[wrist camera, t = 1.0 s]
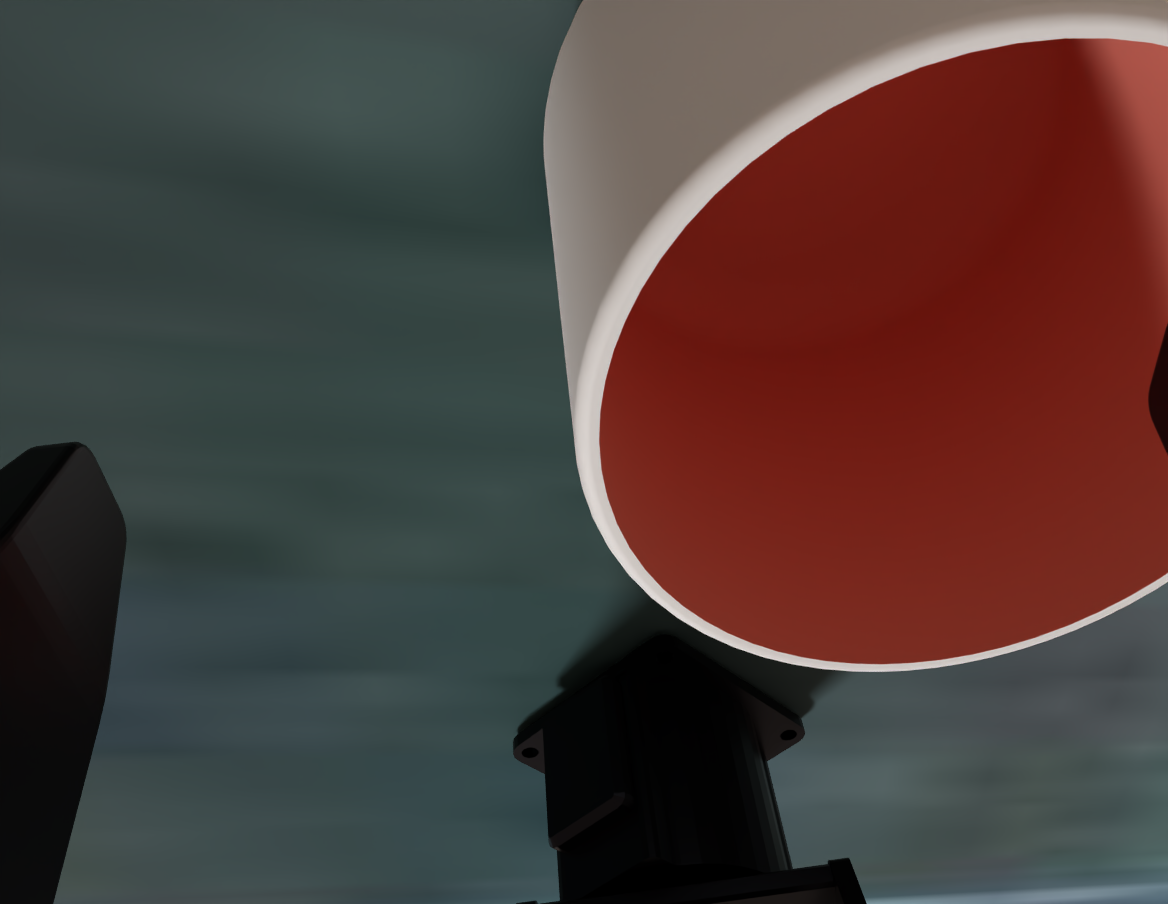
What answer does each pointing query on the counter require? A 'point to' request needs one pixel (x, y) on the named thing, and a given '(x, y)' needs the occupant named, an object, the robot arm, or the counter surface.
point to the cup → (867, 314)
